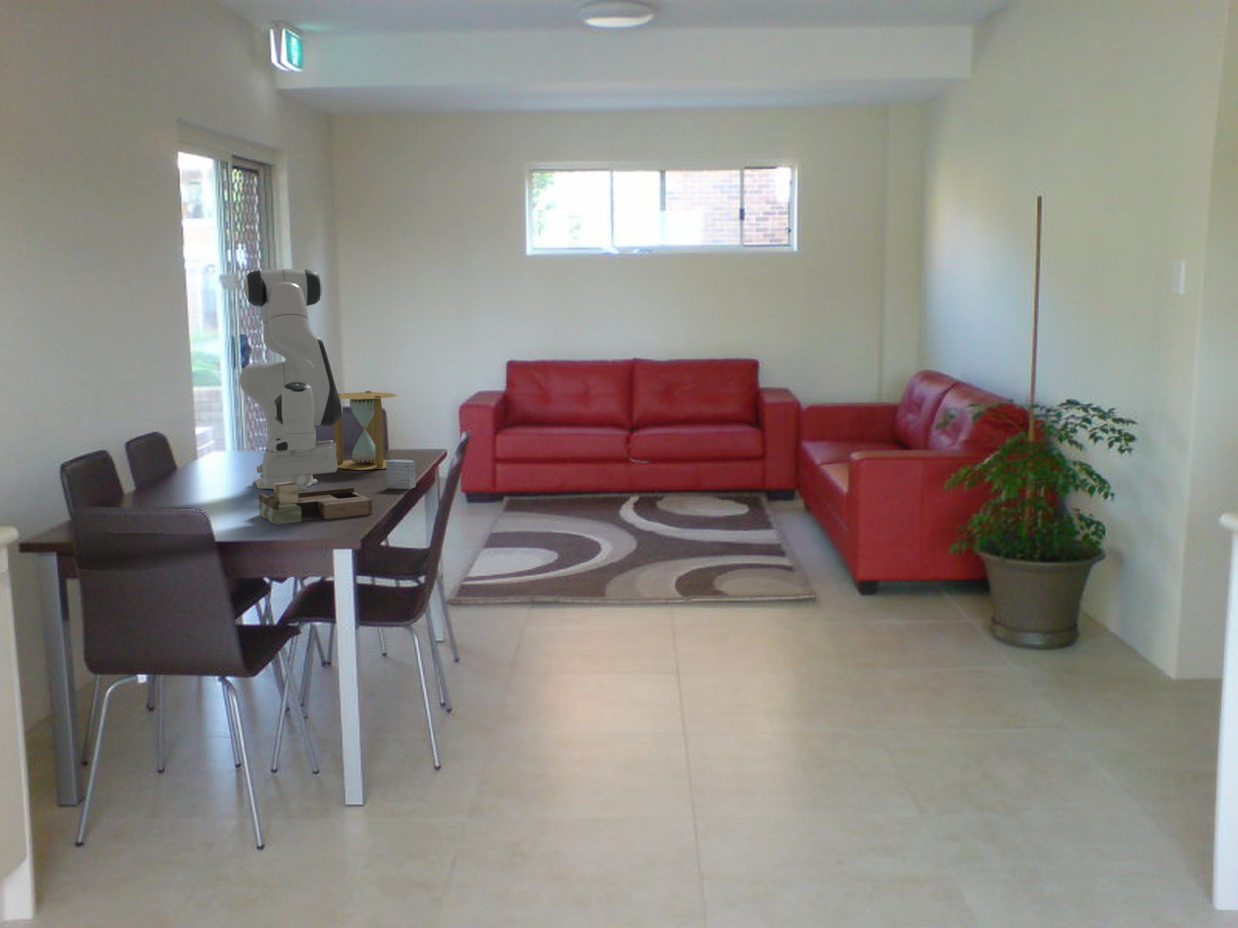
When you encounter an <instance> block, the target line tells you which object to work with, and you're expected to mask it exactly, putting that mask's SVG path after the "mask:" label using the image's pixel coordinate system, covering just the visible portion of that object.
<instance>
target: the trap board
mask: <svg viewBox="0 0 1238 928" xmlns="http://www.w3.org/2000/svg"><path fill="white" fill-rule="evenodd" d="M258 499H259V500H258V503H259V516H261V517H263V518H264V519H266V520H268V521H269V522H270V523H272V524H274V525H276V526H277V525H278V526H279V525H284V524H285V525H286V524H293V523H294V524H295V523H301V522H302V523H304V522H311V521H321V520H330V519H331V520H332V519H339V518H347V517H356V516H366V515H372V514H373V502H372V501H373V500H372V499H371V498H369V497H367V496H364V495H362V494H360V493H357V492H355V487H343V488H342V487H341V488H331V489H322V490H312V491H299V492H298V503H290V504H279V503H278V502H277V501H275V495H274V494H271V495H266V494H265V493H263V492H262V493H258Z"/></svg>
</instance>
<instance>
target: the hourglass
mask: <svg viewBox="0 0 1238 928" xmlns="http://www.w3.org/2000/svg"><path fill="white" fill-rule="evenodd" d="M338 395H339V398H340V400H341V401H342V399H345V400H349V407H350V410H351V412H352V414H353V415H354V417H355V419H356V420H357V422H358V423H359V424H360V427H361V428H362V429H363V431H362V432H361V434H360V436H359V438H358V439H357V441H356V444H355V445H354V447H353V449H352V452H351V453H352V454H351V459H348V460H344V434H343V433H344V429H343V427H344V426H343V417H342V418H341V419H340V420H339V421H338V422H337V423H336V424H334V425H333V429H334V432H333V433H334V442H335V443H336V448H337V451H336V453H335V454H336V459H337V467H338V468H337V469H344V470H345V469H346V470H355V471H356V470H357V471H364V470H366V471H367V470H376V469H377V470H383V469H386V462H387V461H389V460H390V459H384V429H383V428H384V427H383V406H382V405H383V403H382V399H386V398H388V399H389V398H393V397H398V396H399V395H398V394H394V393H391V392H389V393H388V392H376V391H372V390H366V391H364V392H362V391H361V392H345V393H338Z"/></svg>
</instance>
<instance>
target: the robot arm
mask: <svg viewBox="0 0 1238 928" xmlns="http://www.w3.org/2000/svg"><path fill="white" fill-rule="evenodd" d="M243 284H244V285H243V290H244V291H243V292H244V295H245V297H246V299H247V301H248V303H249V304H251V306H255V307H260V308H262V325H263V326H262V329H263V333H262V334H263V342H264V343H263V344H264V345H265V347H266V348H267V349H268V350H270V351H271V352H272V353H275V354H278V355H280V356H282V357H283V358H284V360H285V361H271V362H267V361H263V362H256V363H251V364H247V365H245V366H244V367H243V368H242V369H241V372H240V375H239V386H240V388H241V390H242V392H243V393H244V395H247V397H249V398H250V399H252V400H253V401H254V402H255V403H256V404H257V406H259V408H260V409H261V411H262V413H263V416H264V419H265V424H266V426H265V427H266V432H267V434H266V435H267V441H266V442H265V452H264V454H263V459H262V462H261V464H260V465H256V473H257V474H260V476H259V477H255V478H254V484H255V485H256V488H257V489H263V490H264V489H268V490H269V489H270V490H274V484H276V483H287V482H293V483H295V484H297V485H298V493H300V492H308V491H309V489H308V487H310V486H312V485H314V484H318V479H316V478H314V477H313V475H319V474H328V473H329V474H331V473H336V472H337V470H338V469H339V468H338V467H337V459H336V451H337V448H336V443H335V440H334V441H333V440H331V439H320V440H318V439H317V432H316V431H317V430H316V427H315V426H323V427H334V424H336V423H337V422H338V421H339V420H340V419H341V418H342V419H343V411H344V410H343V409H344V408H343V403H342V399H341V400H340V398H339V395H338V394H339V392H338V389H337V386H336V384H335V383H336V382H335V378H334V375H333V373H332V369H331V367H332V366H331V363H330V361H329V356H328V353H327V350H326V347H325V345H324V341H323V340H322V338H321V337H320V336H317V335H316V334H315V333H314V332H313V330H312V328H311V326H310V322H309V312H308V306H313V305H316V304H317V303H318V302H319V301H321V297H322V295H323V294H322V293H323V282H322V280H321V278H320V275H319V273H317V272H316V271H315V270H310V269H304V270H303V269H293V268H282V269H280V268H279V269H267V270H265V269H264V270H260V269H257V270H253V271H250V272H249V273H248V274H247V275H246V278H245V280H244V283H243Z"/></svg>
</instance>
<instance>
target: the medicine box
mask: <svg viewBox="0 0 1238 928" xmlns="http://www.w3.org/2000/svg"><path fill="white" fill-rule="evenodd" d="M388 460H389V461H387V462H386V468H385V469H386V489H393V490H413V489H414V488H416V487H417V485H416V484H417V482H416V461H415V460H412V459H388Z"/></svg>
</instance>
